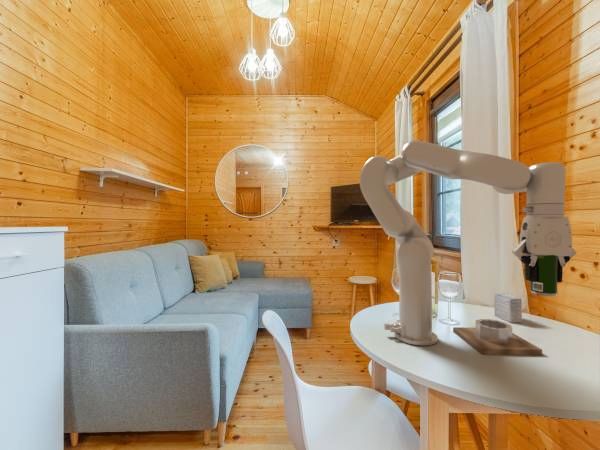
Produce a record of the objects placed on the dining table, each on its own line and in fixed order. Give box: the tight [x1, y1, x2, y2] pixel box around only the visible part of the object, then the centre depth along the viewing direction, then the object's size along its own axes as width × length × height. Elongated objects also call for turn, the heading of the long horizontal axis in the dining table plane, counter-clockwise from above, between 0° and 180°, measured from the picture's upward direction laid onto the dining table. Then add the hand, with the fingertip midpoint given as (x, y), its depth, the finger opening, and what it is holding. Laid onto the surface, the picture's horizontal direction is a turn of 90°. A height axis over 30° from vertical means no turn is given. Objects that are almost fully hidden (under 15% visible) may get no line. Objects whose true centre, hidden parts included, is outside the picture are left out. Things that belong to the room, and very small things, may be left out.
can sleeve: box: [475, 318, 513, 344], centre depth 86 cm, size 9×9×4 cm
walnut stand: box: [452, 326, 543, 356], centre depth 86 cm, size 16×16×2 cm
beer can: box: [529, 255, 558, 297], centre depth 74 cm, size 5×5×12 cm
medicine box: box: [494, 293, 523, 324], centre depth 106 cm, size 8×4×9 cm, turn 3°
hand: (543, 280), depth 74 cm, fingers closed on beer can, 5 cm apart
